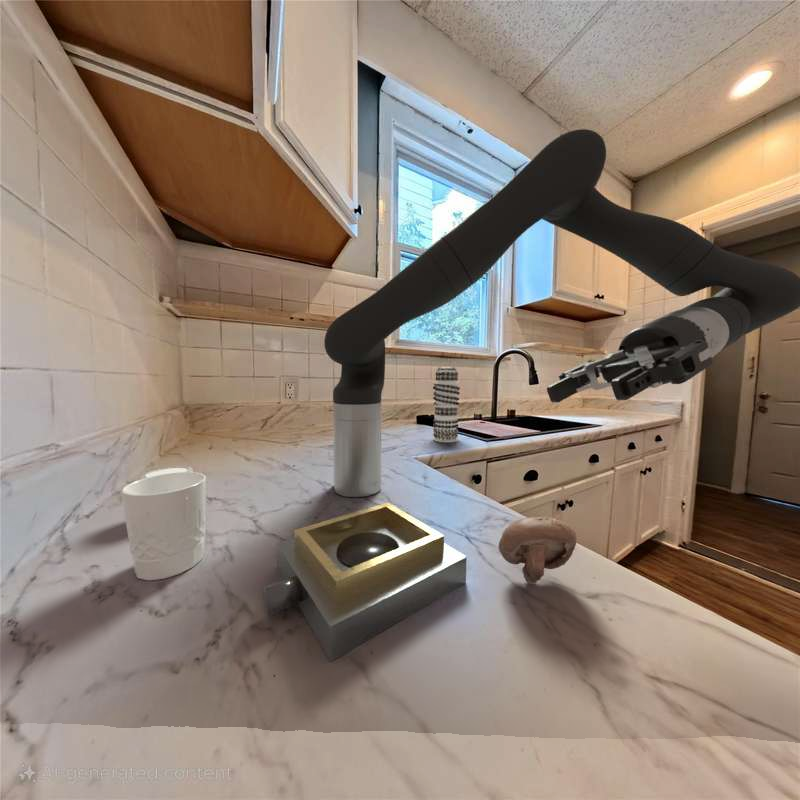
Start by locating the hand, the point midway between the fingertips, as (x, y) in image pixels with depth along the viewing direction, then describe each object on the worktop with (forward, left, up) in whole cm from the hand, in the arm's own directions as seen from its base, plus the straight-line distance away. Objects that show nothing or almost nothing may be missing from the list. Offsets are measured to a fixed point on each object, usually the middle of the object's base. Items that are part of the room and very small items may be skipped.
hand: (580, 393), depth 35 cm
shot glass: (-45, -37, -21) cm, 62 cm away
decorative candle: (-60, +40, -21) cm, 75 cm away
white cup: (-29, -37, -21) cm, 52 cm away
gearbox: (-14, -21, -21) cm, 33 cm away
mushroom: (-1, -5, -21) cm, 22 cm away
